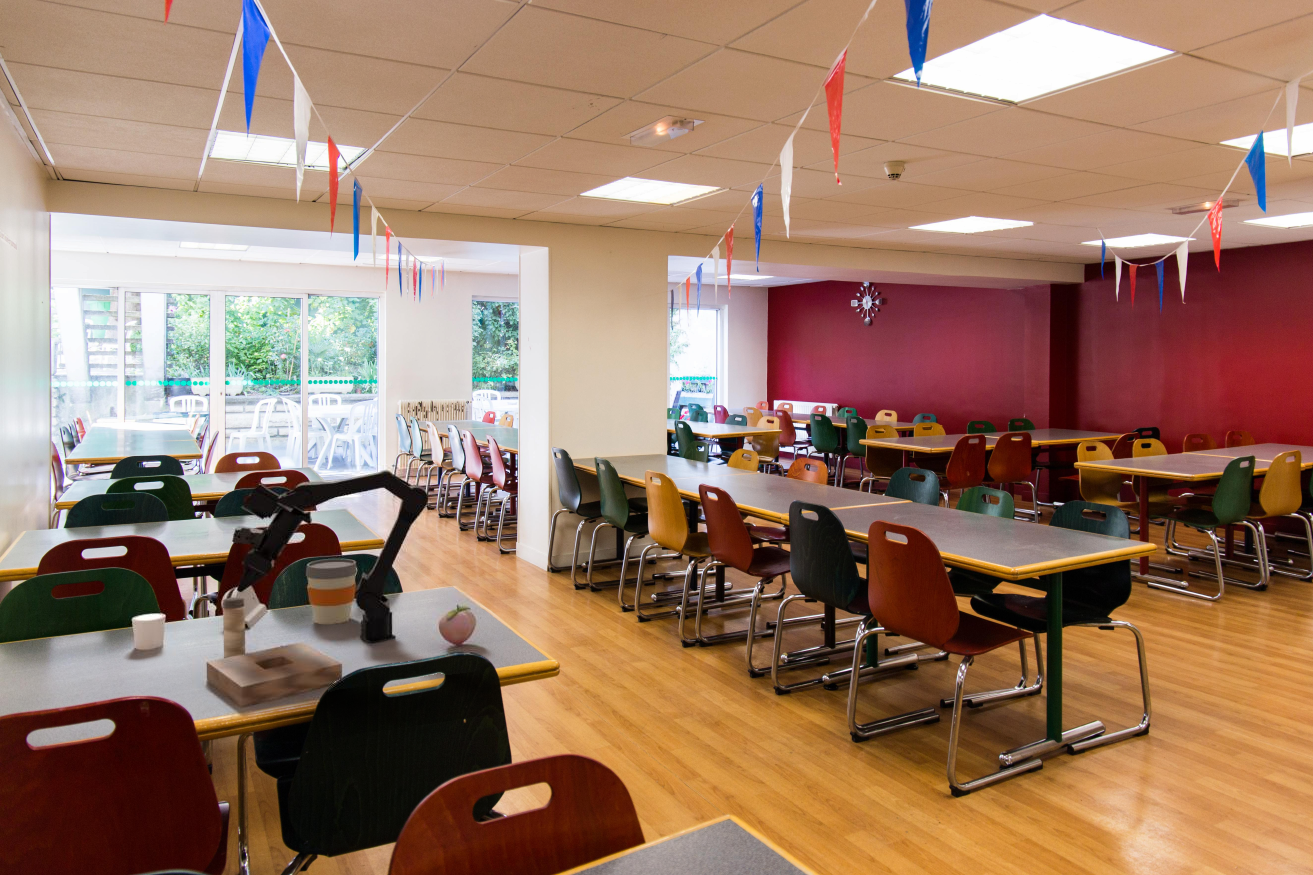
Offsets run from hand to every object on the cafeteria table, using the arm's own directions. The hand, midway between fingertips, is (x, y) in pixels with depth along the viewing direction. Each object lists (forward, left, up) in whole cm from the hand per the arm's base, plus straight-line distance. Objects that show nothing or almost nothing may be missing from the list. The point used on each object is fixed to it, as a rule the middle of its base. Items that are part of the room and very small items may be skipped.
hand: (241, 586), depth 200 cm
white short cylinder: (+15, -16, -15) cm, 27 cm away
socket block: (+3, +27, -15) cm, 31 cm away
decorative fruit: (-38, +32, -15) cm, 52 cm away
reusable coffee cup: (-26, -9, -15) cm, 31 cm away
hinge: (-9, -24, -15) cm, 30 cm away
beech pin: (+3, +4, -15) cm, 16 cm away
